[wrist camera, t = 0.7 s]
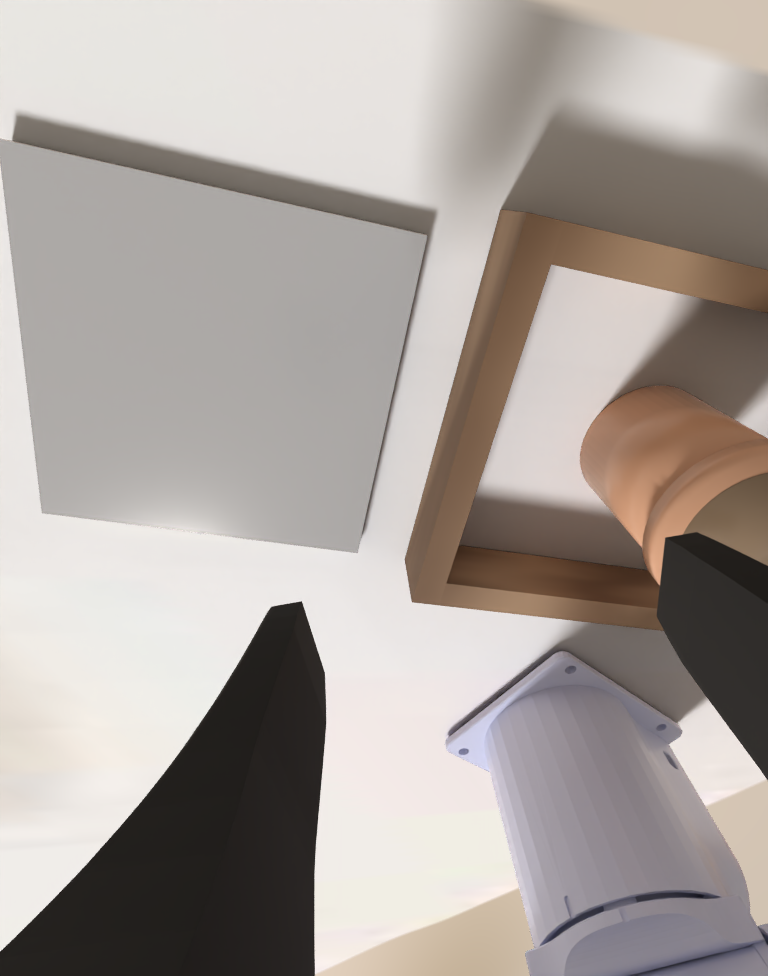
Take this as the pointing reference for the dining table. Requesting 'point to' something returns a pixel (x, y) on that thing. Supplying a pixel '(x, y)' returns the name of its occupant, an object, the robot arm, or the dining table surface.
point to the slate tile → (203, 350)
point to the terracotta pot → (678, 472)
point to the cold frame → (480, 402)
